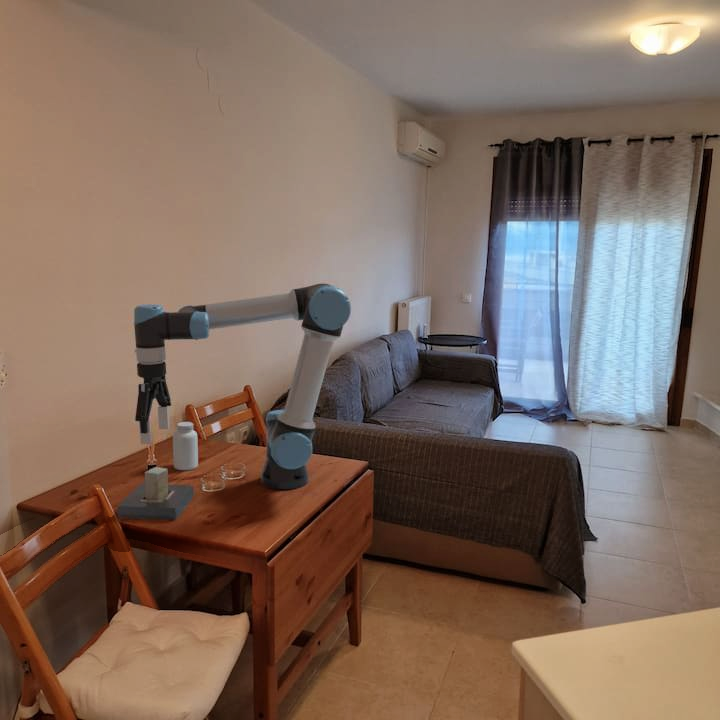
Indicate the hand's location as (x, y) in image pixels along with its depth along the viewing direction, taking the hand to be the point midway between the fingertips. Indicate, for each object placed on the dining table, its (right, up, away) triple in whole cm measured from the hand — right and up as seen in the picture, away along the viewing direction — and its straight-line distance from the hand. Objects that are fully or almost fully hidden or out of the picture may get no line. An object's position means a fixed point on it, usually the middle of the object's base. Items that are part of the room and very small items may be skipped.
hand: (155, 436), depth 174 cm
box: (-1, -21, +4) cm, 21 cm away
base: (-1, -21, +4) cm, 21 cm away
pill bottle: (-1, -15, +35) cm, 38 cm away
